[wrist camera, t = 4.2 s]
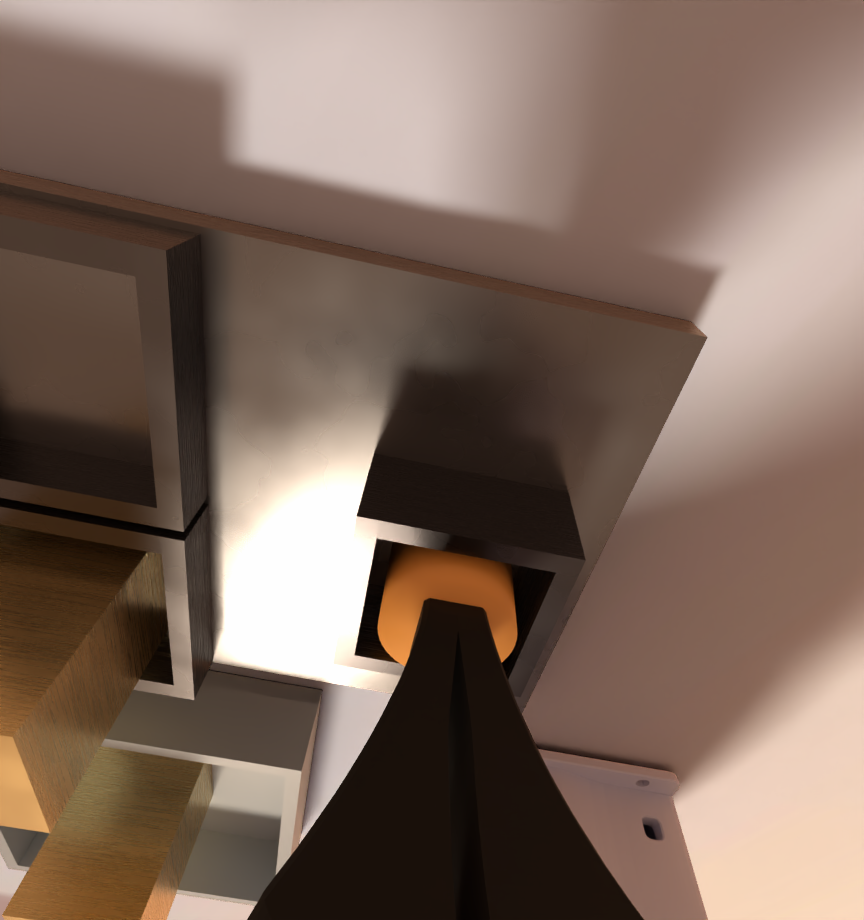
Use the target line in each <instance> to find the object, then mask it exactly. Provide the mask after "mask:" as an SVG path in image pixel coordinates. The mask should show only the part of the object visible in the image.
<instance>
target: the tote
mask: <svg viewBox="0 0 864 920" xmlns="http://www.w3.org/2000/svg"><path fill="white" fill-rule="evenodd" d="M321 695H322V690H318V689H313V688H307V687H301V686H295V685H290V684H284V683H278V682H272V681H267V680H261V679H255V678H249V677H244V676H238V675H232V674H227V673H221V672H215V671H209V670H208V672H207V674H206V676H205V678H204V680H203V683H202V685H201V687H200V689H199V691H198V693H197V696H196V698H195V700H190V699H184V698H179V697H173V696H167V695H161V694H155V693H149V692H143V691H138V690H133V691H132V693H131V694H130V696H129V698H128V700H127V701H126V703H125V705H124V707H123V708H122V710H121V712H120V713H119V715H118V717H117V719H116V720H115V722H114V724H113V726H112V727H111V729H110V731H109V732H108V734H107V736H106V738H105V739H104V741H103V743H102V745H101V746H104V747H110V748H116V749H122V750H128V751H134V752H140V753H146V754H152V755H158V756H164V757H170V758H176V759H183V760H189V761H195V762H201V763H207V764H212V780H213V796H212V799H211V802H210V804H209V807H208V810H207V812H206V815H205V818H204V820H203V823H202V826H201V828H200V831H199V834H198V836H197V839H196V842H195V845H194V847H193V850H192V853H191V855H190V858H189V861H188V863H187V866H186V869H185V871H184V874H183V877H182V879H181V882H180V885H179V887H178V890H177V893H176V894H180V895H187V896H193V897H200V898H206V899H213V900H220V901H226V902H233V903H240V904H246V905H253V906H256V904H257V902H258V900H259V899H260V897H261V895H262V893H263V892H264V890H265V889H266V887H267V886H268V885H269V883H270V882H271V881H272V879H273V878H274V877H275V876H276V874H277V873H278V872H279V870H280V869H281V868H282V866H283V865H284V864H285V863H286V861H287V860H288V859H289V857H290V856H291V855H292V853H293V852H294V851H295V850H296V848H297V847H298V845H299V841H300V837H301V831H302V824H303V817H304V810H305V804H306V797H307V790H308V783H309V777H310V770H311V763H312V756H313V749H314V743H315V736H316V729H317V722H318V716H319V709H320V702H321ZM48 835H49V833H45V832H39V831H32V830H26V829H19V828H13V827H7V826H0V853H1V855H2V857H3V859H4V861H5V863H6V865H7V867H8V869H14V870H21V871H28V870H29V868H30V866H31V865H32V863H33V861H34V859H35V858H36V856H37V854H38V852H39V851H40V849H41V847H42V846H43V844H44V842H45V840H46V839H47V837H48Z"/></svg>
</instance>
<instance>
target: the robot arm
mask: <svg viewBox="0 0 864 920" xmlns="http://www.w3.org/2000/svg"><path fill="white" fill-rule="evenodd" d="M679 786H680V785H679V782H678V778H677V775H675V774H674V773H672V772H669V771H664V770H658V769H652V768H646V767H641V766H635V765H629V764H623V763H617V762H612V761H606V760H600V759H594V758H588V757H582V756H577V755H571V754H565V753H559V752H553V751H547V750H542V749H538V748H537V746H536V744H535V742H534V740H533V738H532V736H531V733H530V731H529V729H528V727H527V725H526V722H525V720H524V718H523V716H522V713H521V711H520V709H519V706H518V704H517V702H516V699H515V697H514V694H513V692H512V689H511V686H510V684H509V681H508V679H507V676H506V674H505V671H504V668H503V665H502V663H501V660H500V657H499V654H498V651H497V648H496V645H495V642H494V638H493V635H492V632H491V628H490V625H489V621H488V617H487V613H486V611H485V610H484V608H483V607H477V606H472V605H466V604H461V603H455V602H450V601H444V600H439V599H434V598H428V599H426V600H424V602H423V606H422V610H421V613H420V617H419V621H418V624H417V628H416V632H415V635H414V639H413V642H412V646H411V650H410V654H409V658H408V660H407V663H406V665H405V668H404V670H403V673H402V675H401V677H400V679H399V681H398V684H397V686H396V688H395V690H394V692H393V694H392V696H391V698H390V700H389V702H388V704H387V706H386V708H385V710H384V712H383V714H382V716H381V718H380V720H379V721H378V723H377V725H376V727H375V729H374V731H373V732H372V734H371V736H370V738H369V739H368V741H367V743H366V745H365V746H364V748H363V750H362V751H361V753H360V755H359V756H358V758H357V760H356V761H355V763H354V764H353V766H352V768H351V769H350V771H349V773H348V774H347V776H346V777H345V779H344V780H343V782H342V784H341V785H340V787H339V788H338V790H337V791H336V793H335V794H334V796H333V797H332V799H331V800H330V802H329V803H328V804H327V806H326V807H325V809H324V810H323V812H322V813H321V815H320V816H319V817H318V819H317V820H316V822H315V823H314V825H313V826H312V827H311V829H310V830H309V832H308V833H307V835H306V836H305V837H304V839H303V840H302V841H301V843H300V844H299V846H298V847H297V848H296V850H295V851H294V852H293V853H292V855H291V856H290V857H289V859H288V860H287V861H286V863H285V864H284V865H283V866H282V868H281V869H280V870H279V872H278V873H277V874H276V876H275V877H274V878H273V879H272V881H271V882H270V883H269V885H268V886H267V887H266V889H265V890H264V892H263V893H262V895H261V897H260V899H259V900H258V902H257V904H256V906H255V907H254V909H253V911H252V912H251V914H250V916H249V918H248V919H247V920H708V918H707V915H706V912H705V908H704V905H703V901H702V898H701V894H700V891H699V888H698V884H697V881H696V877H695V874H694V870H693V867H692V864H691V860H690V857H689V853H688V850H687V846H686V843H685V839H684V836H683V833H682V829H681V826H680V822H679V819H678V815H677V812H676V809H675V805H674V802H673V798H672V797H671V796H672V795H673V794H674V793H675V792H676V791H677V790H678V788H679Z"/></svg>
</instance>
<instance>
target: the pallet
mask: <svg viewBox="0 0 864 920" xmlns="http://www.w3.org/2000/svg"><path fill="white" fill-rule="evenodd" d="M706 339H707V336H706V335H705V334H704V333H703V332H701V331H700V330H699V329H698V328H697V327H696V326H695V325H694V324H693V323H692V322H690V321H686V320H681V319H677V318H672V317H668V316H663V315H659V314H654V313H649V312H645V311H640V310H636V309H631V308H627V307H622V306H618V305H613V304H609V303H604V302H600V301H595V300H590V299H586V298H581V297H577V296H572V295H568V294H563V293H559V292H554V291H550V290H545V289H541V288H536V287H531V286H527V285H522V284H518V283H513V282H509V281H504V280H500V279H495V278H491V277H486V276H482V275H477V274H472V273H468V272H463V271H459V270H454V269H450V268H445V267H441V266H436V265H432V264H427V263H423V262H418V261H414V260H409V259H404V258H400V257H395V256H391V255H386V254H382V253H377V252H373V251H368V250H364V249H359V248H355V247H350V246H345V245H341V244H336V243H332V242H327V241H323V240H318V239H314V238H309V237H305V236H300V235H296V234H291V233H286V232H282V231H277V230H273V229H268V228H264V227H259V226H255V225H250V224H246V223H241V222H237V221H232V220H227V219H223V218H218V217H214V216H209V215H205V214H200V213H196V212H191V211H187V210H182V209H178V208H173V207H168V206H164V205H159V204H155V203H150V202H146V201H141V200H137V199H132V198H128V197H123V196H119V195H114V194H109V193H105V192H100V191H96V190H91V189H87V188H82V187H78V186H73V185H69V184H64V183H60V182H55V181H50V180H46V179H41V178H37V177H32V176H28V175H23V174H19V173H14V172H10V171H5V170H1V169H0V524H1V525H6V526H11V527H17V528H22V529H28V530H33V531H38V532H44V533H49V534H55V535H60V536H65V537H71V538H76V539H82V540H87V541H92V542H98V543H103V544H109V545H114V546H119V547H125V548H130V549H136V550H141V551H147V552H152V553H157V554H162V565H163V576H164V586H165V597H166V607H167V618H168V628H169V629H168V631H167V632H166V634H165V636H164V638H163V639H162V641H161V643H160V644H159V646H158V648H157V650H156V651H155V653H154V655H153V657H152V658H151V660H150V662H149V663H148V665H147V667H146V669H145V670H144V672H143V674H142V676H141V677H140V679H139V681H138V682H137V684H136V686H135V688H134V689H133V690H138V691H143V692H149V693H155V694H161V695H167V696H173V697H179V698H184V699H190V700H195V698H196V696H197V693H198V691H199V689H200V687H201V685H202V683H203V680H204V678H205V676H206V674H207V672H208V670H209V668H210V665H211V663H212V662H213V663H219V664H225V665H231V666H236V667H242V668H248V669H253V670H259V671H265V672H271V673H276V674H282V675H288V676H293V677H299V678H305V679H311V680H316V681H322V682H328V683H333V684H339V685H345V686H351V687H356V688H362V689H368V690H373V691H379V692H385V693H391V694H393V692H394V690H395V688H396V686H397V684H398V681H399V679H400V677H401V675H402V673H403V670H404V668H405V666H403V665H402V664H400V663H399V662H397V661H396V660H395V659H393V658H392V657H391V656H390V655H389V654H388V653H387V651H386V650H385V649H384V647H383V646H382V644H381V642H380V639H379V636H378V628H377V627H378V620H379V614H380V609H381V603H382V597H383V592H384V586H385V581H386V575H387V570H388V564H389V559H390V553H391V548H392V544H393V542H398V543H403V544H409V545H414V546H419V547H424V548H430V549H435V550H440V551H445V552H451V553H456V554H461V555H466V556H472V557H477V558H482V559H487V560H493V561H498V562H503V563H508V564H511V566H512V577H513V589H514V600H515V611H516V623H517V641H516V644H515V647H514V648H513V650H512V652H511V653H510V655H509V656H508V657H507V658H506V659H505V660H504V661H503V662H502V665H503V668H504V671H505V674H506V676H507V679H508V681H509V684H510V686H511V689H512V692H513V694H514V697H515V699H516V702H517V704H518V706H519V709H520V711H521V713H522V712H523V710H524V708H525V706H526V704H527V702H528V700H529V698H530V696H531V694H532V692H533V690H534V688H535V686H536V684H537V682H538V680H539V678H540V676H541V674H542V672H543V670H544V668H545V665H546V663H547V661H548V659H549V657H550V655H551V653H552V651H553V649H554V647H555V645H556V643H557V641H558V639H559V637H560V635H561V633H562V631H563V629H564V627H565V625H566V623H567V621H568V619H569V617H570V615H571V613H572V611H573V609H574V607H575V605H576V603H577V601H578V599H579V597H580V595H581V593H582V591H583V588H584V586H585V584H586V582H587V580H588V578H589V576H590V574H591V572H592V570H593V568H594V566H595V564H596V562H597V560H598V558H599V556H600V554H601V552H602V550H603V548H604V546H605V544H606V542H607V540H608V538H609V536H610V534H611V532H612V530H613V528H614V526H615V524H616V522H617V520H618V518H619V516H620V513H621V511H622V509H623V507H624V505H625V503H626V501H627V499H628V497H629V495H630V493H631V491H632V489H633V487H634V485H635V483H636V481H637V479H638V477H639V475H640V473H641V471H642V469H643V467H644V465H645V463H646V461H647V459H648V457H649V455H650V453H651V451H652V449H653V447H654V445H655V443H656V441H657V439H658V436H659V434H660V432H661V430H662V428H663V426H664V424H665V422H666V420H667V418H668V416H669V414H670V412H671V410H672V408H673V406H674V404H675V402H676V400H677V398H678V396H679V394H680V392H681V390H682V388H683V386H684V384H685V382H686V380H687V378H688V376H689V374H690V372H691V370H692V368H693V366H694V364H695V361H696V359H697V357H698V355H699V353H700V351H701V349H702V347H703V345H704V343H705V341H706Z"/></svg>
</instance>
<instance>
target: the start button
mask: <svg viewBox="0 0 864 920" xmlns="http://www.w3.org/2000/svg"><path fill="white" fill-rule="evenodd" d="M428 598H434V599H439V600H444V601H450V602H455V603H461V604H466V605H472V606H477V607H483V608H484V610H485V611H486V613H487V617H488V621H489V625H490V628H491V632H492V635H493V638H494V642H495V645H496V648H497V651H498V654H499V657H500V660H501V663H502V662H503V661H504V660H505V659H506V658H507V657H508V656H509V655H510V653H511V652H512V650H513V648H514V647H515V644H516V641H517V623H516V611H515V600H514V589H513V577H512V566H511V564H508V563H503V562H498V561H493V560H487V559H482V558H477V557H472V556H466V555H461V554H456V553H451V552H445V551H440V550H435V549H430V548H424V547H419V546H414V545H409V544H403V543H398V542H393V544H392V548H391V553H390V559H389V564H388V570H387V575H386V581H385V586H384V592H383V597H382V603H381V609H380V614H379V620H378V627H377V628H378V636H379V639H380V642H381V644H382V646H383V647H384V649H385V650H386V651H387V653H388V654H389V655H390V656H391V657H392V658H393V659H395V660H396V661H397V662H399V663H400V664H402V665H403V666H405V665H406V663H407V660H408V658H409V654H410V650H411V646H412V642H413V639H414V635H415V632H416V628H417V624H418V621H419V617H420V613H421V610H422V606H423V602H424V600H426V599H428Z"/></svg>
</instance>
